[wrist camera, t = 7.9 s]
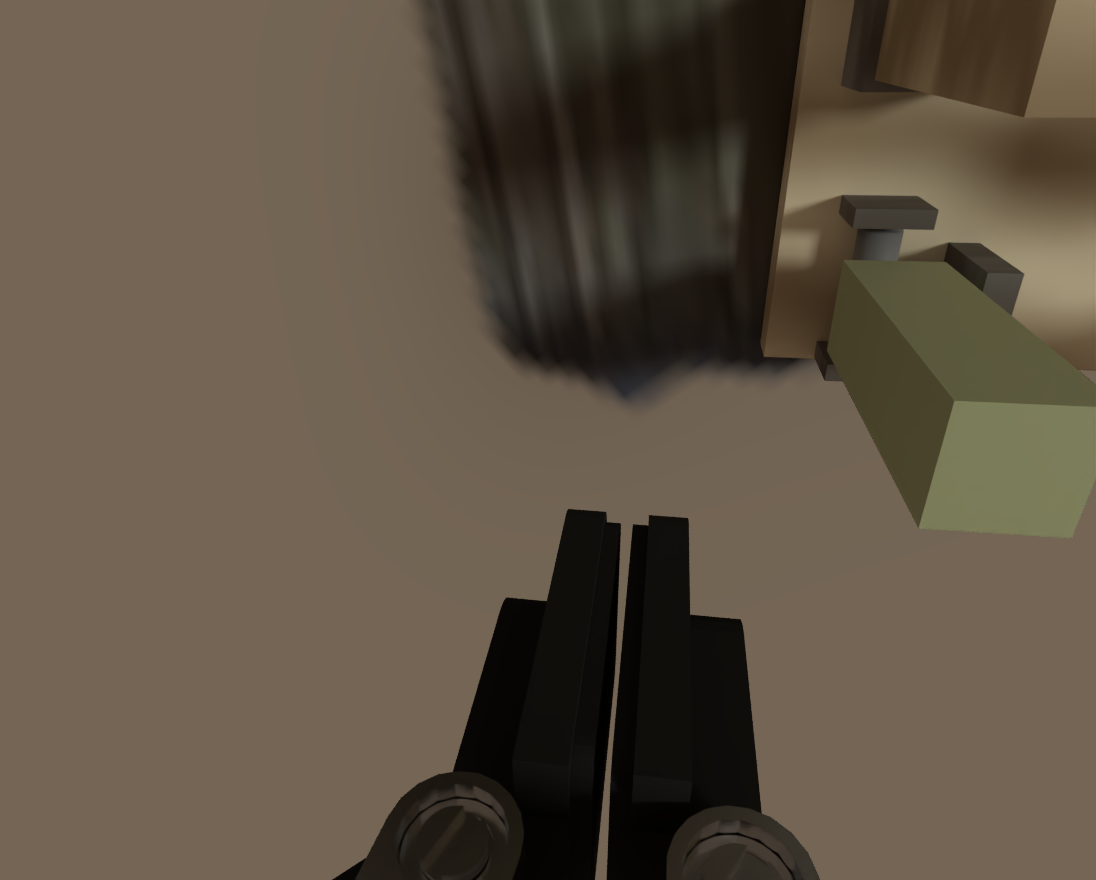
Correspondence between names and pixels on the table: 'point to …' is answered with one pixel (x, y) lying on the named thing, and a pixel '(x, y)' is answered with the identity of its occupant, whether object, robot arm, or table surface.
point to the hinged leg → (961, 397)
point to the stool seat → (942, 160)
